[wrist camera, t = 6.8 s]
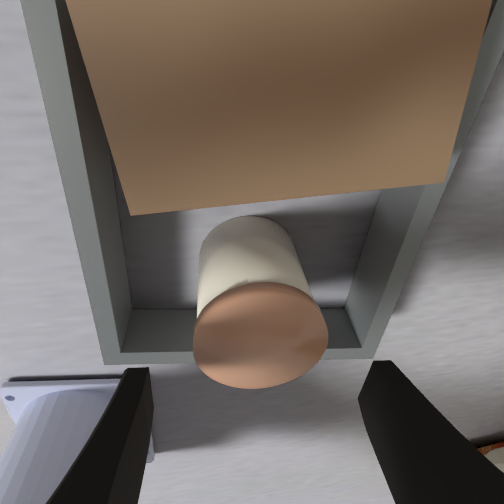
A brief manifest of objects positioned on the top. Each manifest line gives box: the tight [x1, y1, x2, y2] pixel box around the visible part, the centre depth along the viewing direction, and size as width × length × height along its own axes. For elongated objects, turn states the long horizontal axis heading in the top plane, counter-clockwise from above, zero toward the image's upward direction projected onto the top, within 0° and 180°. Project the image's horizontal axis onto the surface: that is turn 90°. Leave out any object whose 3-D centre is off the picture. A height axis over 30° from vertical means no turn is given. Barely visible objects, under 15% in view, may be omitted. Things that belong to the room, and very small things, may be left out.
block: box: [65, 0, 492, 216], centre depth 10 cm, size 5×9×5 cm, turn 94°
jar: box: [193, 216, 328, 389], centre depth 14 cm, size 5×5×6 cm
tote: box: [20, 0, 504, 365], centre depth 13 cm, size 16×13×3 cm
